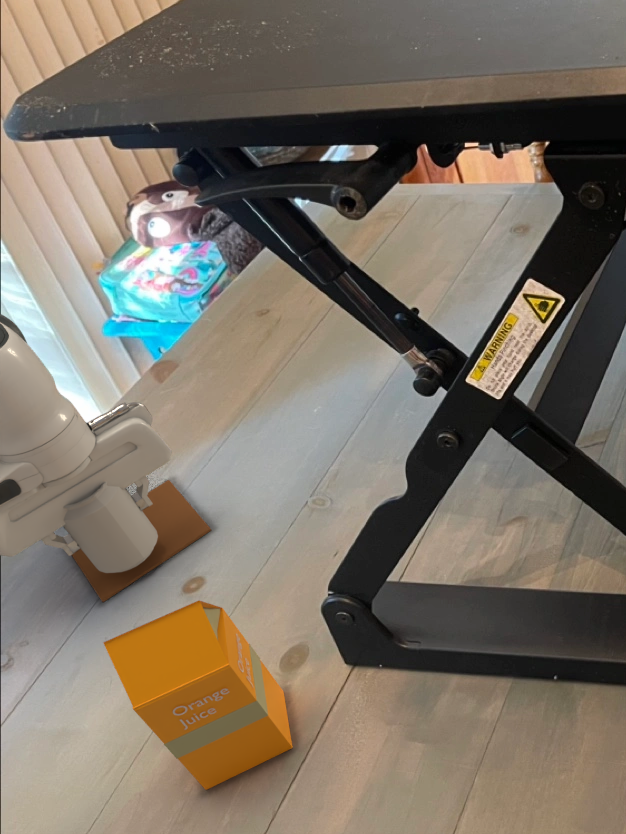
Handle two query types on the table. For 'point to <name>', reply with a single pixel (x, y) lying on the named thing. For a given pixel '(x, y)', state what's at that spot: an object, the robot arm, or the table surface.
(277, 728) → the orange juice
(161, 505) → the mat
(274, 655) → the table surface
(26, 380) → the robot arm
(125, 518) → the can
